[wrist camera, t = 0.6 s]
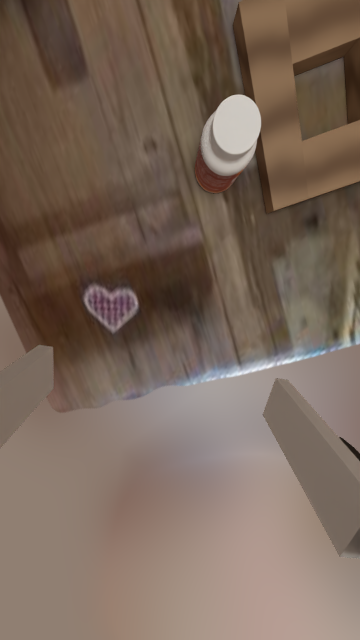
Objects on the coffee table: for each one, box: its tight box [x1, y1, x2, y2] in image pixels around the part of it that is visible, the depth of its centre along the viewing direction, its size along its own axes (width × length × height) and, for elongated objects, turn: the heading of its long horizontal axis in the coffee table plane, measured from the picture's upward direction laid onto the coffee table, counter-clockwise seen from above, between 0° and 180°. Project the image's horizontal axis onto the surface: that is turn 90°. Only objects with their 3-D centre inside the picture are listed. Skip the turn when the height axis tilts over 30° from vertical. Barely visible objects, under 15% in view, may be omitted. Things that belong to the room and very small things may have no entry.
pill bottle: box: [195, 95, 261, 193], centre depth 25 cm, size 6×6×11 cm
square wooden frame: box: [233, 0, 360, 214], centre depth 27 cm, size 22×18×2 cm
